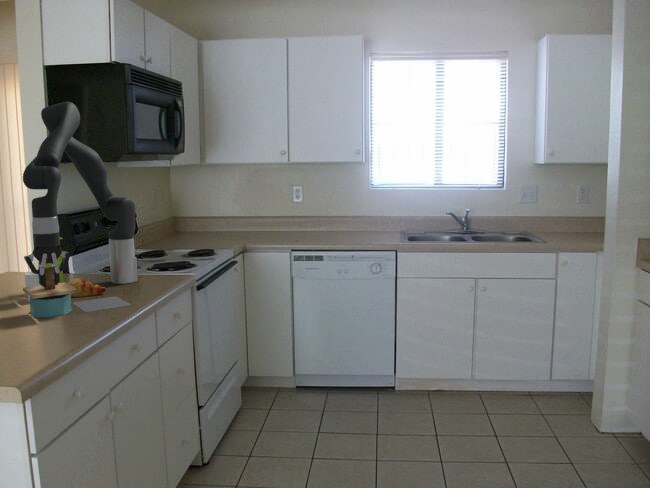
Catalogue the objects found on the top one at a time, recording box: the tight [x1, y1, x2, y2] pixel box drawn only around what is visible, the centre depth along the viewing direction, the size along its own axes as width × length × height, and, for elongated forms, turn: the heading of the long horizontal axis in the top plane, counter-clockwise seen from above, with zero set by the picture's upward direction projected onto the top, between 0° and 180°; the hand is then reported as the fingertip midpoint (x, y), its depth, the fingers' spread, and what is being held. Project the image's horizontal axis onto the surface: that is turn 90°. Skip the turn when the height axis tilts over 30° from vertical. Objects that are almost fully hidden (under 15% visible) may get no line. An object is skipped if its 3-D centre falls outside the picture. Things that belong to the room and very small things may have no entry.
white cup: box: [23, 270, 40, 302], centre depth 209 cm, size 8×8×10 cm
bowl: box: [29, 294, 73, 320], centre depth 193 cm, size 11×11×6 cm
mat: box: [71, 295, 132, 313], centre depth 204 cm, size 15×15×1 cm
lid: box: [22, 267, 78, 299], centre depth 192 cm, size 13×13×8 cm
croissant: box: [62, 277, 107, 298], centre depth 217 cm, size 21×10×8 cm, turn 91°
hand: (49, 285), depth 192 cm, fingers closed on lid, 3 cm apart
